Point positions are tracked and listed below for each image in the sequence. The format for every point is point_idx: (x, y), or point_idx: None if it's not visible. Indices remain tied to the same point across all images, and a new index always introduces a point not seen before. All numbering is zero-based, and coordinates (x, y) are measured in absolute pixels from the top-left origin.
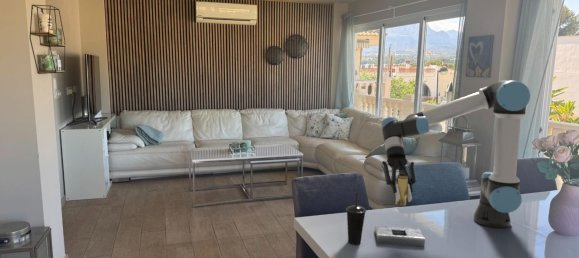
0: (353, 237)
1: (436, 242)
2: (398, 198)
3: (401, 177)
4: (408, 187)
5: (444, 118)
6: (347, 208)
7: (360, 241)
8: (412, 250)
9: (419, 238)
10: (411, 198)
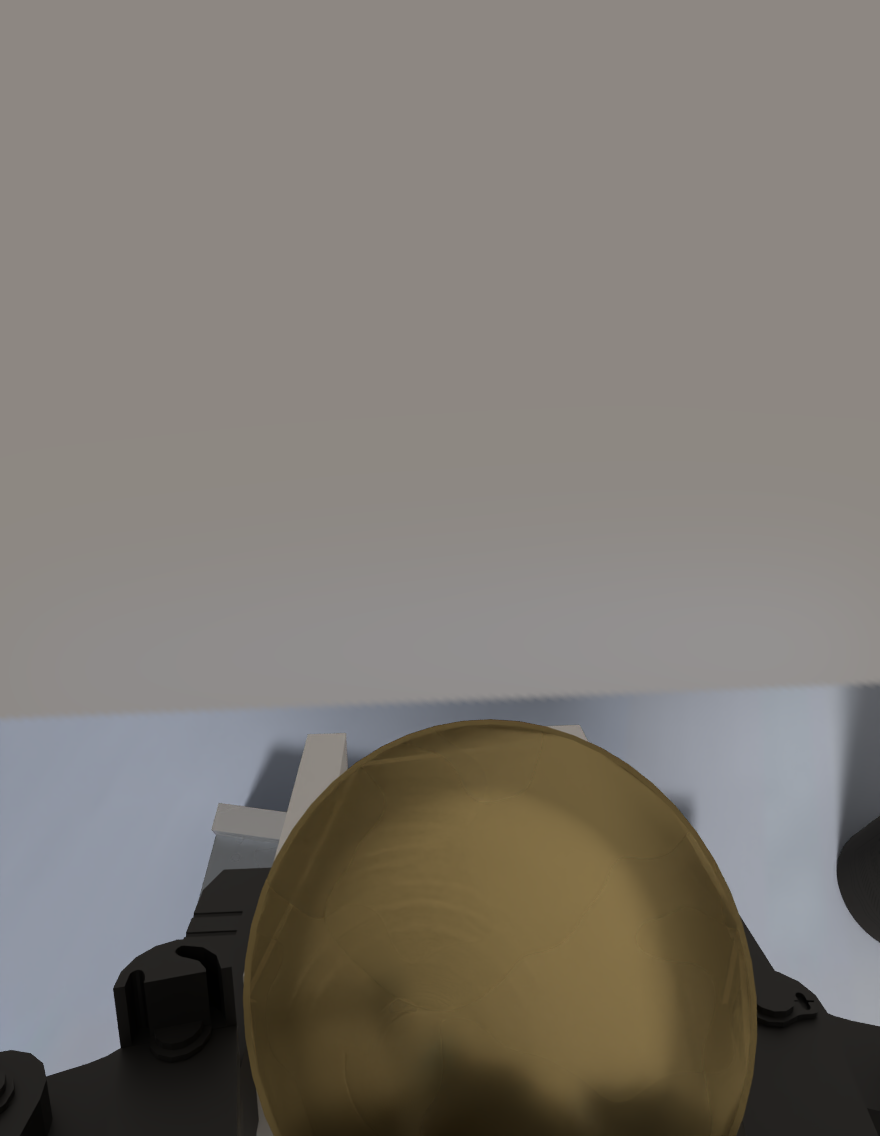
0: None
1: (57, 937)
2: (578, 727)
3: (593, 763)
4: None
5: None
6: None
7: (846, 853)
8: (378, 740)
9: (273, 812)
10: (319, 737)
